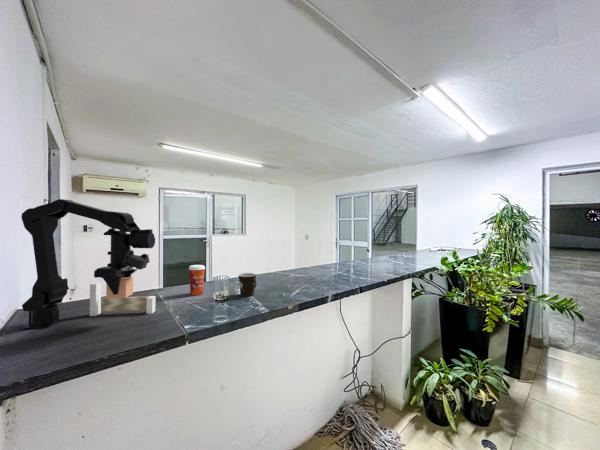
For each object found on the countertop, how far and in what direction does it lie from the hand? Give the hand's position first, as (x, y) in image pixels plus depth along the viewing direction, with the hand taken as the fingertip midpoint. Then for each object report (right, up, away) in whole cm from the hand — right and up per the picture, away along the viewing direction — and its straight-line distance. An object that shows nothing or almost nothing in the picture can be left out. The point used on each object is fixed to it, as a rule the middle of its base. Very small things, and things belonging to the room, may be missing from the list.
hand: (120, 292), depth 86 cm
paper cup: (+12, -11, +36) cm, 39 cm away
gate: (-4, -9, +8) cm, 13 cm away
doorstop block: (0, -1, 0) cm, 1 cm away
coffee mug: (+38, -11, +34) cm, 52 cm away
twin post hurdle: (-6, -11, +8) cm, 15 cm away
